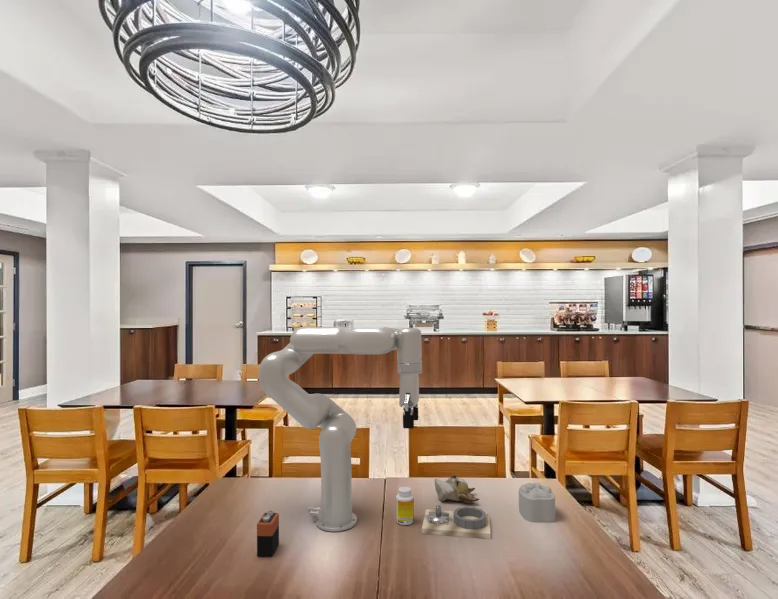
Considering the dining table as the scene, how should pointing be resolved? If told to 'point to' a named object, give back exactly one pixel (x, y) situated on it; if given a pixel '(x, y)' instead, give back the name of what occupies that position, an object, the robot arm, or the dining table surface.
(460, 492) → the ceramic sculpture
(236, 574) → the dining table surface
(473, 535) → the gear board
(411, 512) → the supplement bottle
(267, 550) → the battery
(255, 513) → the dining table surface
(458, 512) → the socket ring
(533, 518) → the lumpy-topped squat cylinder
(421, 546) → the dining table surface
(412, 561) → the dining table surface
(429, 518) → the gear
